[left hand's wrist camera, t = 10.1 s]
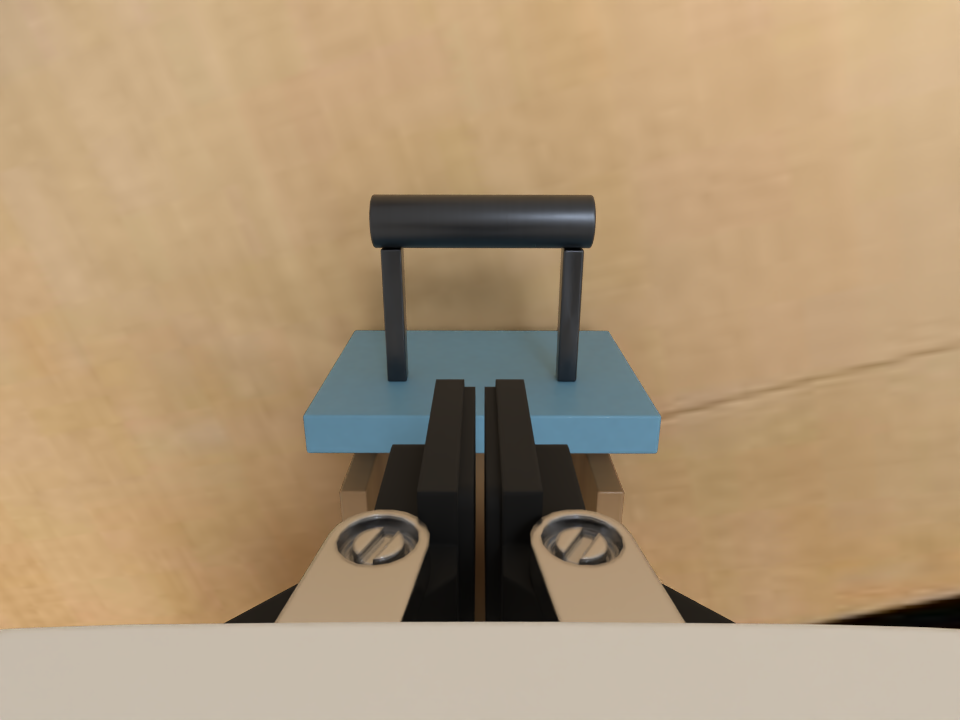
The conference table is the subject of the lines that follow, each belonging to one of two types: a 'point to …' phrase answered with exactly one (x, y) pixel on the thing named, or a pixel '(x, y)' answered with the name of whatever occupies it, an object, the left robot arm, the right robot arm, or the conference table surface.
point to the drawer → (482, 358)
